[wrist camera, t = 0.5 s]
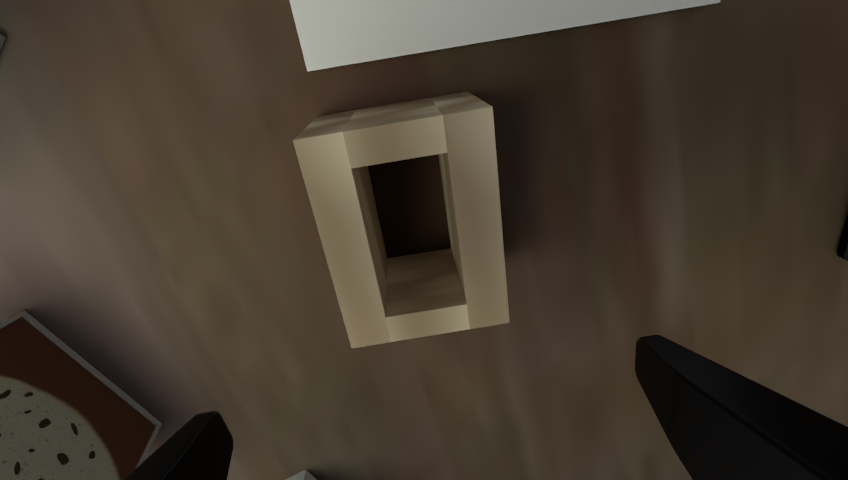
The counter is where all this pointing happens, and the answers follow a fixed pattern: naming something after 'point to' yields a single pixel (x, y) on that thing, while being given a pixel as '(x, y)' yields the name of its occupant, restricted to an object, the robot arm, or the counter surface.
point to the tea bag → (302, 476)
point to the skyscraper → (1, 41)
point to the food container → (63, 412)
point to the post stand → (443, 23)
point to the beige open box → (361, 232)
